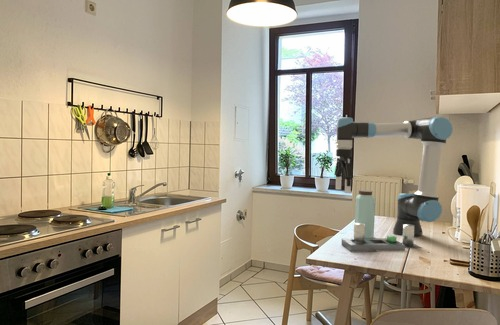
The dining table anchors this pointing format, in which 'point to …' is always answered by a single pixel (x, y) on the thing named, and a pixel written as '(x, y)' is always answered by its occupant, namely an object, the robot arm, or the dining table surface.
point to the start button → (391, 238)
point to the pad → (414, 246)
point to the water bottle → (365, 211)
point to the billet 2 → (408, 235)
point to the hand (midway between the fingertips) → (342, 191)
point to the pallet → (372, 245)
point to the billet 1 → (359, 233)
